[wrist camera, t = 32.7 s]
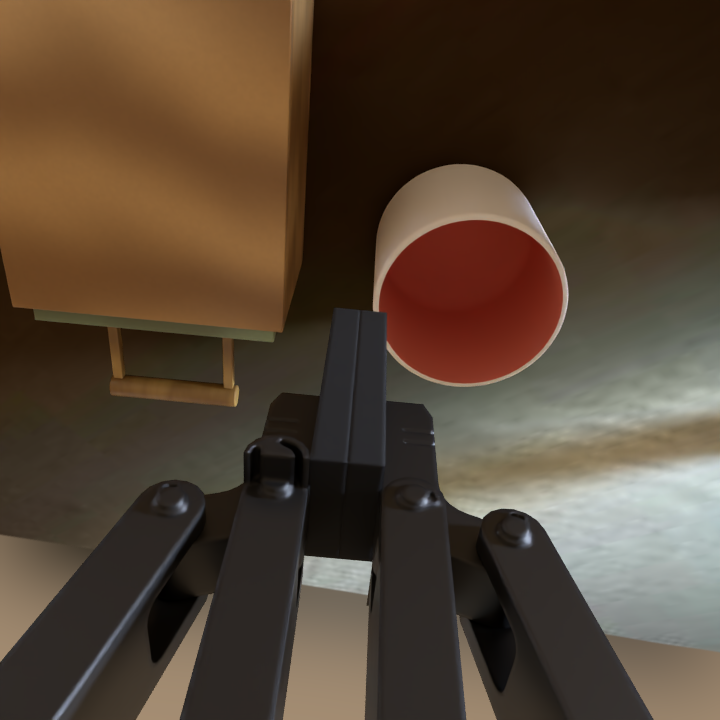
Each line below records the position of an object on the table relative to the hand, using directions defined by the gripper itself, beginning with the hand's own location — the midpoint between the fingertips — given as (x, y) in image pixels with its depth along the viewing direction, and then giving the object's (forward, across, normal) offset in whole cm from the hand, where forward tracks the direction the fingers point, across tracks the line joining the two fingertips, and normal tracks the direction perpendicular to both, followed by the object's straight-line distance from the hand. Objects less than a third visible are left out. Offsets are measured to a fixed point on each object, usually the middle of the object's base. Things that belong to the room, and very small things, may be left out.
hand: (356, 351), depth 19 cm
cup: (+25, +6, -5) cm, 26 cm away
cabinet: (+24, -11, +2) cm, 27 cm away
